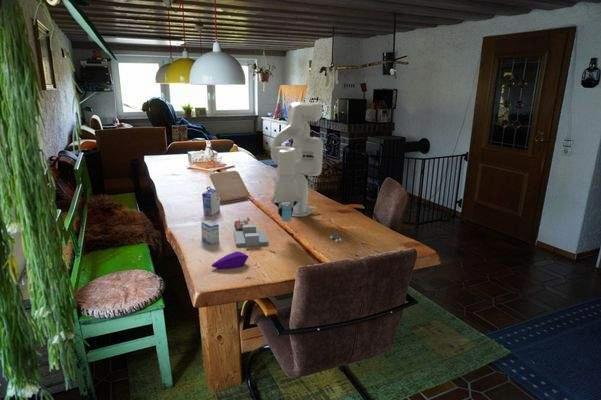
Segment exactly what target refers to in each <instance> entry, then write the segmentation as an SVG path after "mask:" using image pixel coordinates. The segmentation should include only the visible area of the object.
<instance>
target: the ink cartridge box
mask: <svg viewBox="0 0 601 400" xmlns="http://www.w3.org/2000/svg"><path fill="white" fill-rule="evenodd" d="M201 195H202V197H201V198H202V208H203V209H202V210H203V215H204V216H209V217H211V216H214V215H215V214H217V213H218V212H220V211H221V205H220V202H219V190H216V189H215V188H212V187H211V186H210V185H209V186H207V187H206V191H204V192H202V194H201Z"/></svg>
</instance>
